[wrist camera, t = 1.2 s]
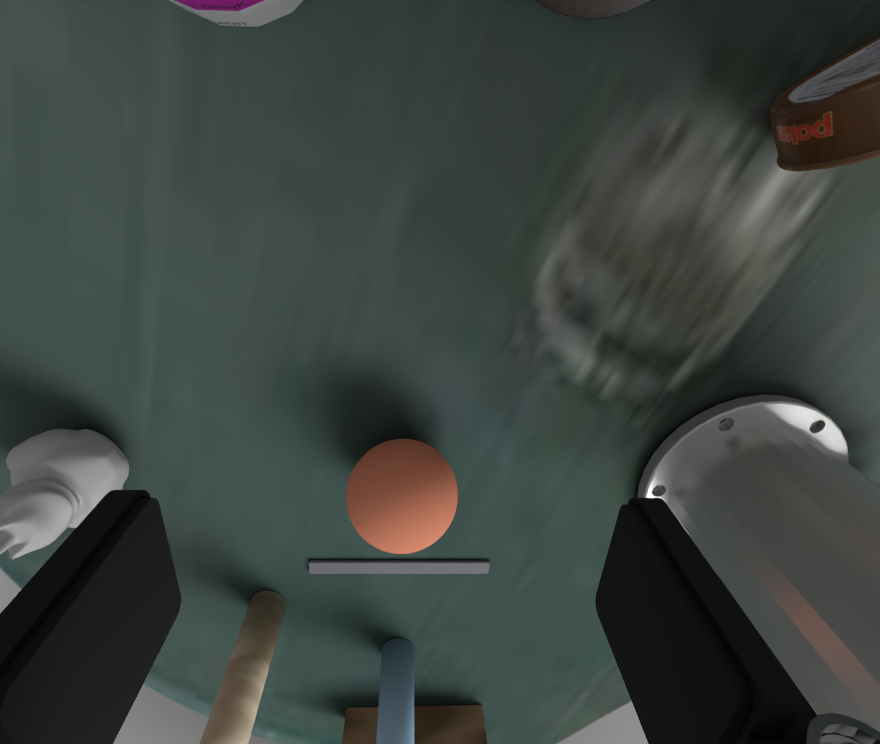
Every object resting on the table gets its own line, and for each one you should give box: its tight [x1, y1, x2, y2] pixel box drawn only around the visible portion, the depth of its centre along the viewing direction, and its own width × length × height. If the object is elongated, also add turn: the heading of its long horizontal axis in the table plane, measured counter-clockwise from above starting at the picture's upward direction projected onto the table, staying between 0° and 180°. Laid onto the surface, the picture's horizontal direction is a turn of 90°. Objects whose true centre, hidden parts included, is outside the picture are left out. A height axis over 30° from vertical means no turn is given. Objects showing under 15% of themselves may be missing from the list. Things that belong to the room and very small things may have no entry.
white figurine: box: [0, 429, 129, 559], centre depth 24 cm, size 5×7×8 cm
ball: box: [346, 439, 458, 554], centre depth 26 cm, size 6×6×6 cm
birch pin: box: [200, 591, 286, 744], centre depth 29 cm, size 2×2×9 cm
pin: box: [376, 639, 414, 744], centre depth 32 cm, size 2×2×9 cm
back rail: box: [342, 705, 487, 744], centre depth 37 cm, size 11×2×4 cm, turn 87°
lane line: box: [309, 560, 490, 574], centre depth 32 cm, size 12×1×1 cm, turn 87°
